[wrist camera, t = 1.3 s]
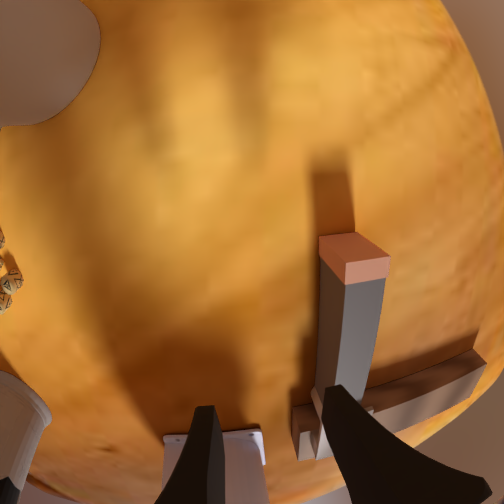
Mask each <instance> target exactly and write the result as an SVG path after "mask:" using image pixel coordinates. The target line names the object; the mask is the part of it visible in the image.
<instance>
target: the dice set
mask: <svg viewBox="0 0 504 504" xmlns="http://www.w3.org/2000/svg"><path fill="white" fill-rule="evenodd" d="M4 243H5V238H4V235H3V233H2V232H1V231H0V249H1V248H2V247H4ZM3 263H4V261H3V260H2V259H1V257H0V270H1V268H2V265H3ZM23 281H24V279H23V277H22V274H21V273H20V272H19V271H18V270H17V269H12V270H10V271H9V272H8V273H6V274H5V275H4V276H3V277H2V279H1V283H0V285H1V286H2V288H3V290H1V291H0V314H4V312H5V311H6V310H7V309H8V308H9V307H10V306H11V304H12V299H11V296H10V295H11V294H14V293H15V292H16V291H17V290H18V289H19V288H20V287H21V286H22V285H23Z"/></svg>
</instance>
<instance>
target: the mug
mask: <svg viewBox="0 0 504 504" xmlns="http://www.w3.org/2000/svg"><path fill="white" fill-rule="evenodd" d="M100 39H101V37H100V28H99V24H98V22H97V19H96V17H95V16H94V14H93V13H92V12H91V10H90V9H89V8H88V7H87V6H85V5H84V4H83V3H82V2H81V1H80V0H0V130H1V128H2V127H5V126H18V125H33V124H37V123H40V122H43V121H46V120H48V119H50V118H52V117H53V116H55V115H56V114H58V113H59V112H61V111H62V110H63V109H64V108H66V107H67V106H68V105H69V104H70V103H71V102H72V101H73V99H74V98H75V97H76V96H77V95H78V94H79V92H80V91H81V90H82V88H83V87H84V85H85V84H86V82H87V80H88V79H89V77H90V75H91V73H92V71H93V68H94V66H95V63H96V61H97V57H98V54H99V49H100Z"/></svg>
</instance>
